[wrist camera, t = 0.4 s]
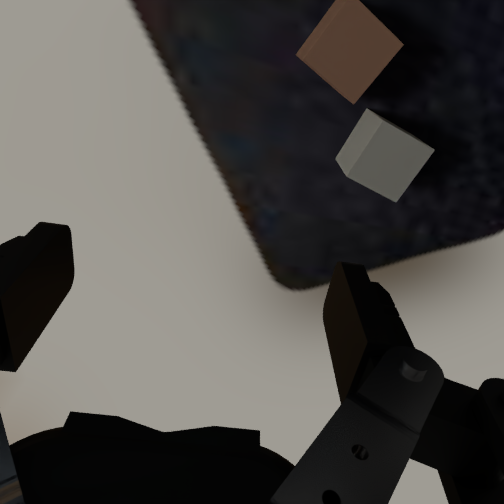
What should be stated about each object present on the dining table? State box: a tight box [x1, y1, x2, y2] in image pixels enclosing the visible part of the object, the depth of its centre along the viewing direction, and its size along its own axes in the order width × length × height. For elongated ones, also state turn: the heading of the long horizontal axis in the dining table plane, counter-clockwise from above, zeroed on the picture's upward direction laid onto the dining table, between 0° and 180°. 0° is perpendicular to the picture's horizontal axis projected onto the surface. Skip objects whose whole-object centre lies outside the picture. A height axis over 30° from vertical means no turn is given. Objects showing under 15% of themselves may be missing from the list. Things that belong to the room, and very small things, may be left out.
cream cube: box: [336, 109, 434, 202], centre depth 35 cm, size 5×5×5 cm
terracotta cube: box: [296, 0, 404, 104], centre depth 31 cm, size 5×5×5 cm
